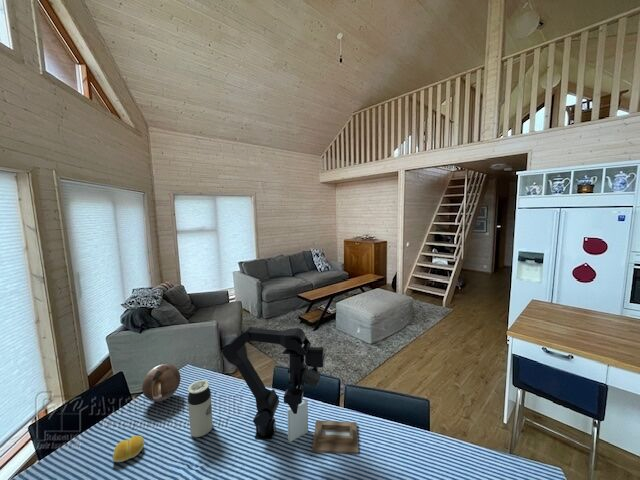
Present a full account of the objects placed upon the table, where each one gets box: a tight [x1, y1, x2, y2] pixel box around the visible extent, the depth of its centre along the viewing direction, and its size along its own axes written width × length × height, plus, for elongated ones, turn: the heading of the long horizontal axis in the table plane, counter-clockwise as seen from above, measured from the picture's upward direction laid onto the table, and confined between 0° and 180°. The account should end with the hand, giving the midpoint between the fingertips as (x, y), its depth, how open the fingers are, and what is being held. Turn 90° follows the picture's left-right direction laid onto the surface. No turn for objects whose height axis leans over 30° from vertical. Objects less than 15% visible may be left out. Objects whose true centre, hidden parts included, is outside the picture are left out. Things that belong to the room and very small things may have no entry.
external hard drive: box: [286, 399, 309, 443], centre depth 98 cm, size 2×8×12 cm, turn 123°
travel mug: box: [187, 379, 214, 438], centre depth 101 cm, size 8×8×18 cm
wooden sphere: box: [141, 363, 182, 402], centre depth 120 cm, size 15×15×15 cm
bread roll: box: [112, 435, 145, 463], centre depth 92 cm, size 8×9×4 cm
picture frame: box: [311, 419, 359, 455], centre depth 97 cm, size 16×13×3 cm
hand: (297, 404), depth 97 cm, fingers open, 9 cm apart
